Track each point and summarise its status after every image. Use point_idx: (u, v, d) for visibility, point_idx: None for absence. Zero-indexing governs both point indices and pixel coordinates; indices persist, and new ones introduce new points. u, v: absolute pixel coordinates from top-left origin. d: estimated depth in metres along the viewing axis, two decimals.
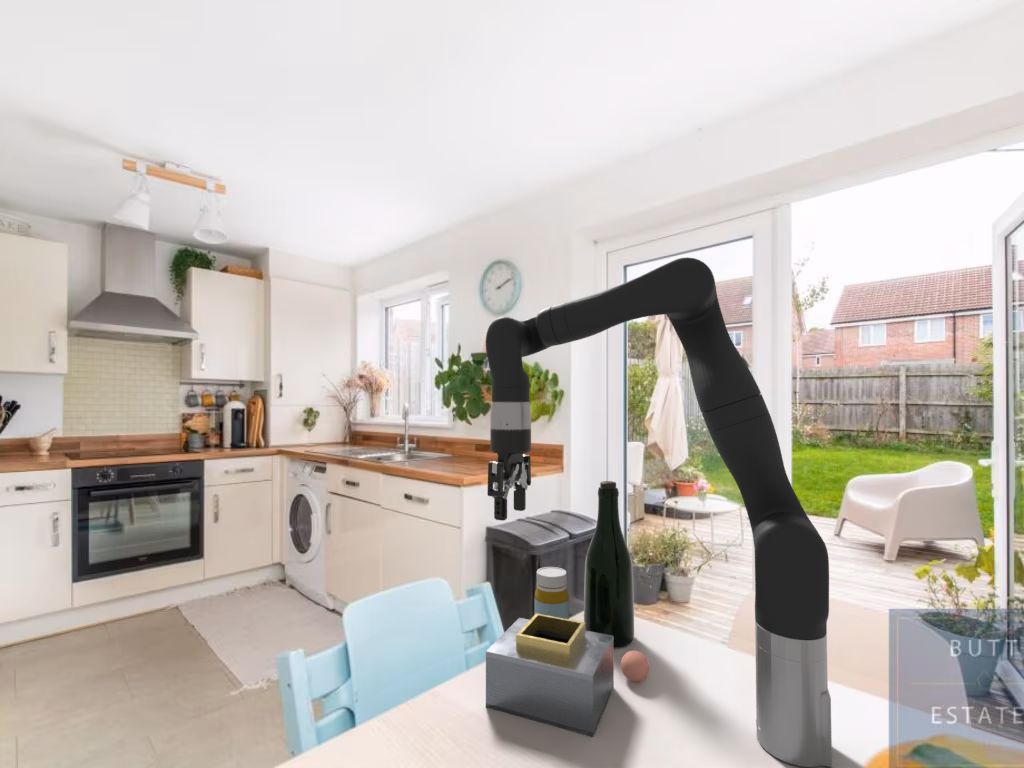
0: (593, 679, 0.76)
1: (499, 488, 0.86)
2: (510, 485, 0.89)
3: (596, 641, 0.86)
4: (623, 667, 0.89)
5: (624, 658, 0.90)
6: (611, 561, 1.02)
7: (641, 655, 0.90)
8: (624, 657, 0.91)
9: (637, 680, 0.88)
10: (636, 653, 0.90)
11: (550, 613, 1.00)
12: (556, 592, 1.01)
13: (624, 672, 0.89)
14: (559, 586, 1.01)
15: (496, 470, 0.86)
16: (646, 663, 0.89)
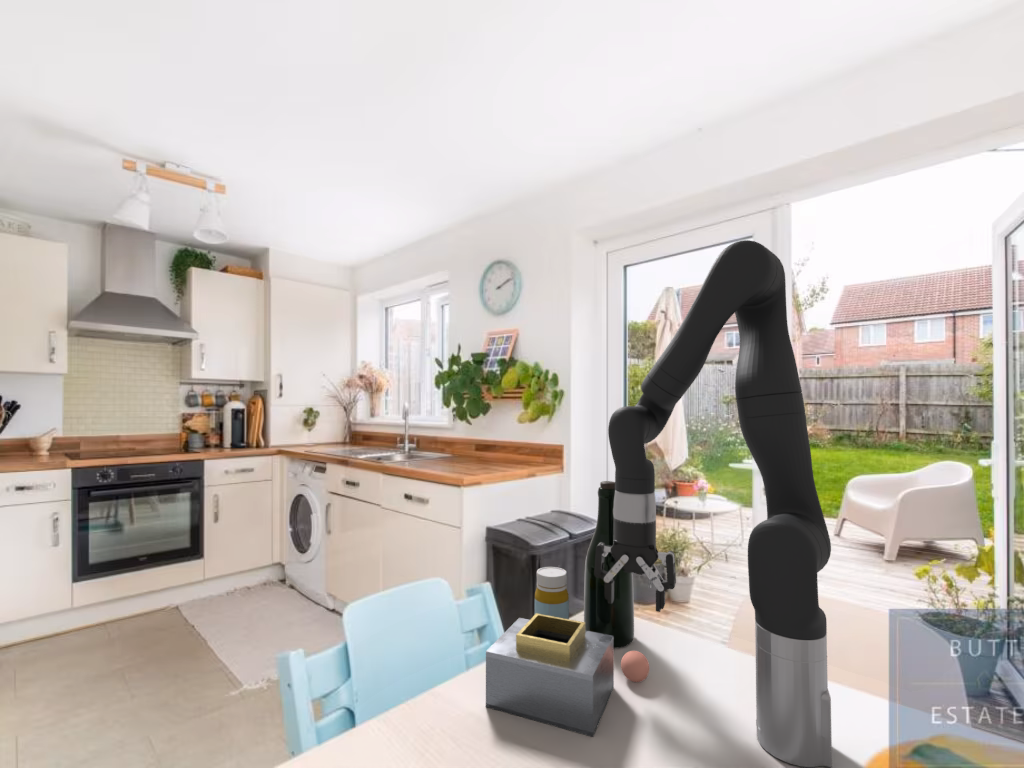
0: (593, 679, 0.76)
1: None
2: None
3: (596, 641, 0.86)
4: (623, 667, 0.89)
5: (624, 658, 0.90)
6: (611, 561, 1.02)
7: (641, 655, 0.90)
8: (624, 657, 0.91)
9: (637, 680, 0.88)
10: (636, 653, 0.90)
11: (550, 613, 1.00)
12: (556, 592, 1.01)
13: (624, 672, 0.89)
14: (559, 586, 1.01)
15: (674, 560, 0.89)
16: (646, 663, 0.89)
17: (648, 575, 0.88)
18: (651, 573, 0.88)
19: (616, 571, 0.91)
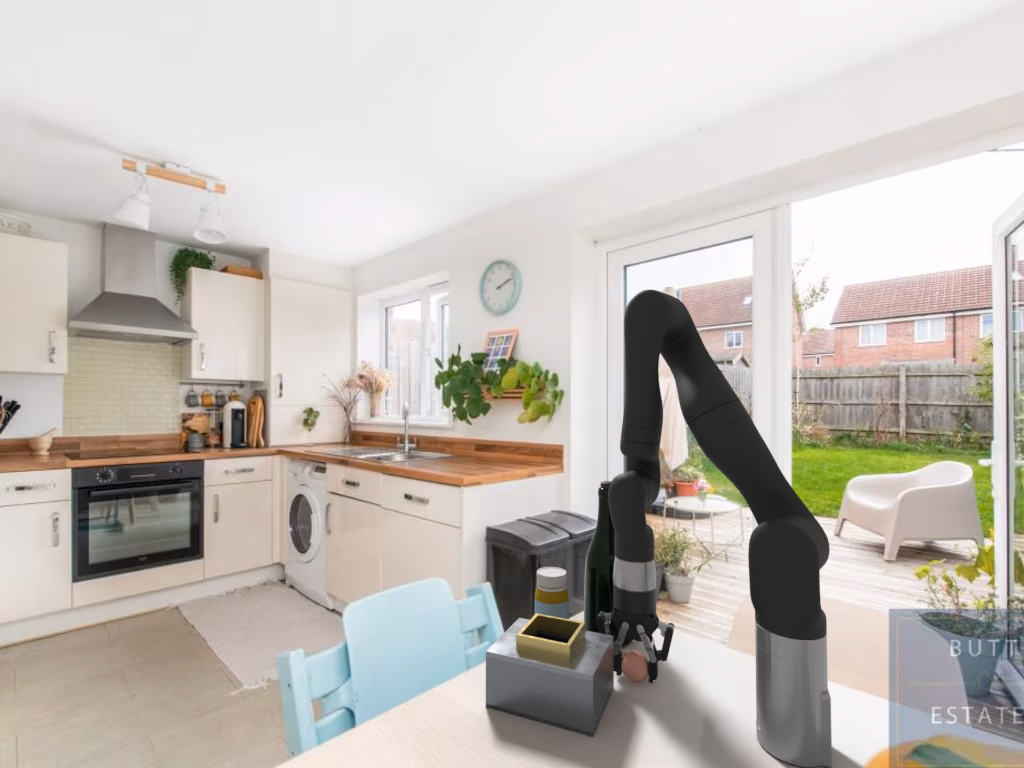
0: (593, 679, 0.76)
1: None
2: None
3: (596, 641, 0.86)
4: (623, 667, 0.89)
5: (624, 658, 0.90)
6: (611, 561, 1.02)
7: (641, 655, 0.90)
8: (624, 657, 0.91)
9: (637, 680, 0.88)
10: (636, 653, 0.90)
11: (550, 613, 1.00)
12: (556, 592, 1.01)
13: (624, 672, 0.89)
14: (559, 586, 1.01)
15: None
16: (646, 663, 0.89)
17: (644, 644, 0.88)
18: (648, 643, 0.88)
19: (621, 641, 0.90)
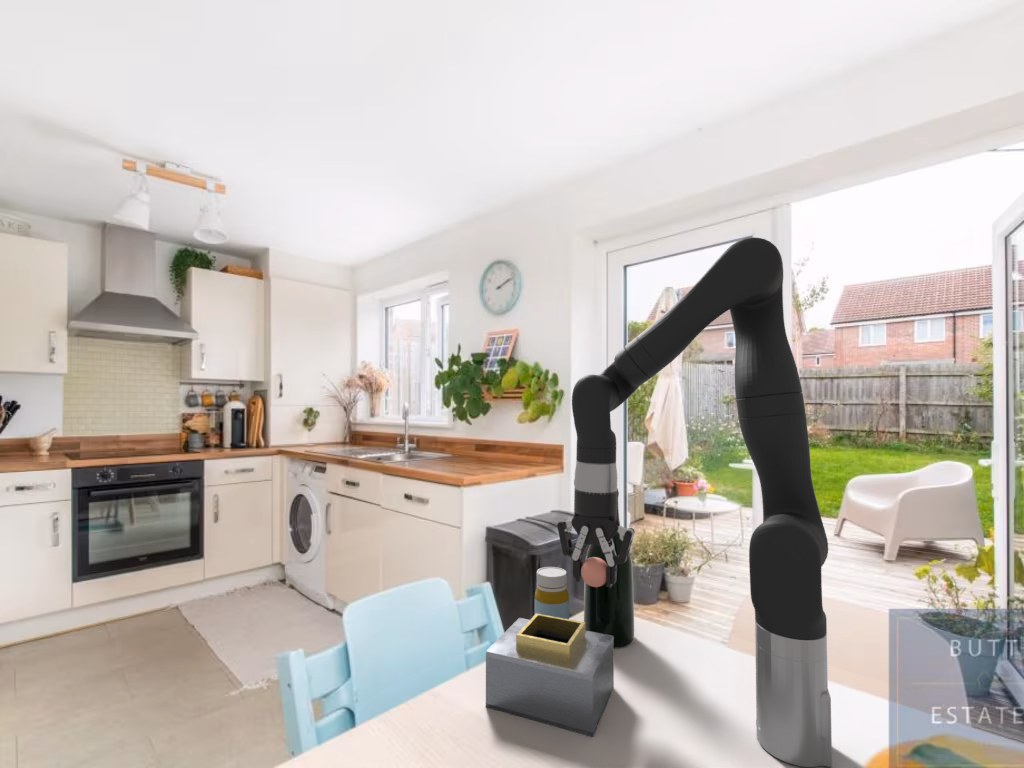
0: (593, 679, 0.76)
1: (628, 553, 0.88)
2: None
3: (596, 641, 0.86)
4: (583, 571, 0.88)
5: (584, 563, 0.89)
6: None
7: (601, 560, 0.89)
8: (584, 562, 0.89)
9: (595, 584, 0.87)
10: (596, 558, 0.89)
11: (550, 613, 1.00)
12: (556, 592, 1.01)
13: (583, 576, 0.88)
14: (559, 586, 1.01)
15: (632, 538, 0.87)
16: (605, 568, 0.88)
17: (603, 548, 0.87)
18: (606, 547, 0.87)
19: (581, 545, 0.89)
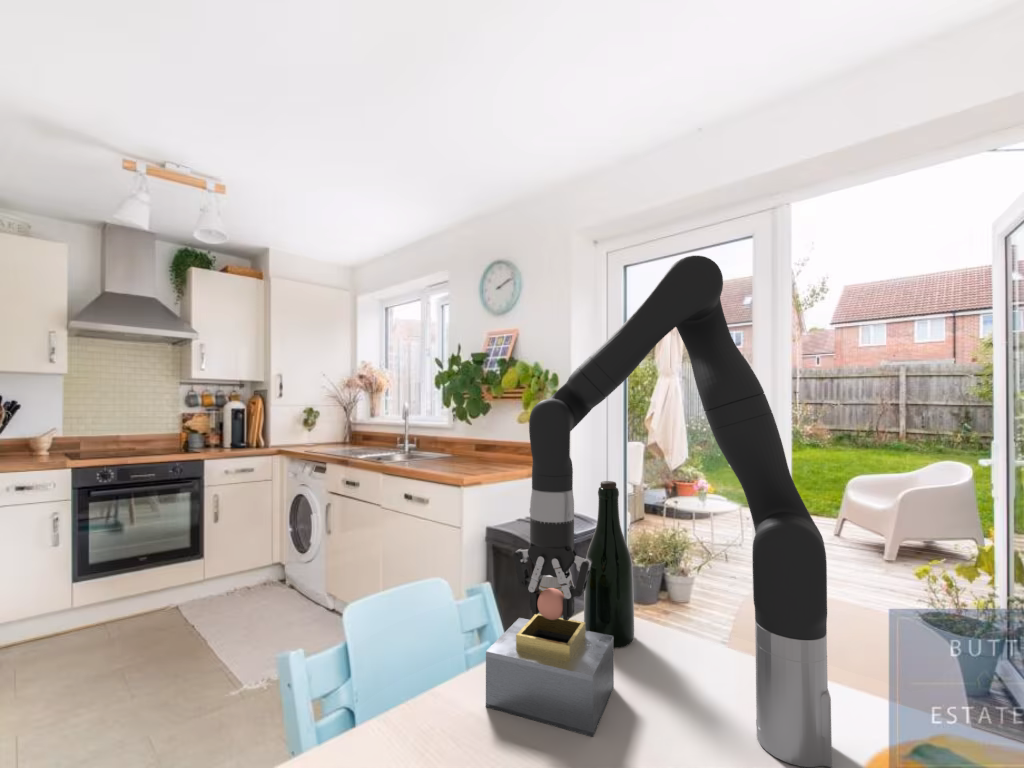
0: (593, 679, 0.76)
1: (586, 584, 0.85)
2: None
3: (596, 641, 0.86)
4: (539, 603, 0.85)
5: (540, 595, 0.86)
6: (611, 561, 1.02)
7: (558, 592, 0.85)
8: (540, 594, 0.86)
9: (552, 617, 0.84)
10: (553, 589, 0.86)
11: None
12: None
13: (539, 609, 0.85)
14: (559, 586, 1.01)
15: (589, 568, 0.84)
16: (562, 600, 0.85)
17: (559, 579, 0.84)
18: (562, 578, 0.83)
19: (537, 577, 0.85)
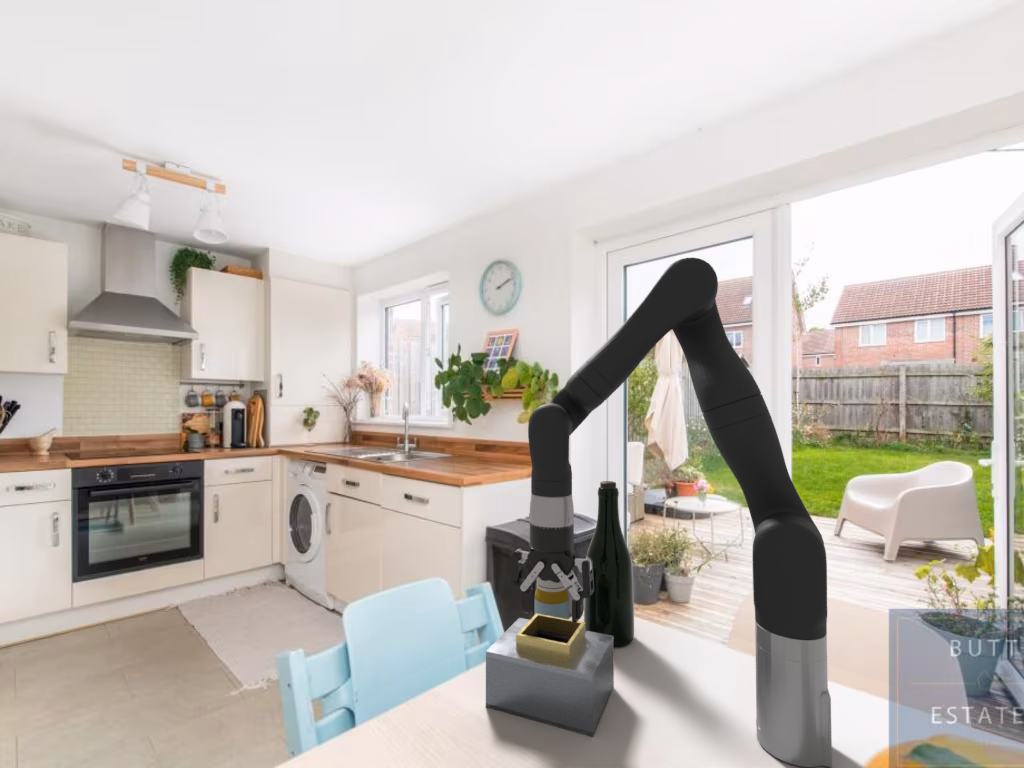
0: (593, 679, 0.76)
1: (593, 584, 0.84)
2: None
3: (596, 641, 0.86)
4: None
5: None
6: (611, 561, 1.02)
7: None
8: None
9: None
10: None
11: (550, 613, 1.00)
12: (556, 592, 1.01)
13: None
14: (559, 586, 1.01)
15: (591, 567, 0.84)
16: None
17: (564, 583, 0.83)
18: (567, 581, 0.83)
19: (532, 579, 0.85)
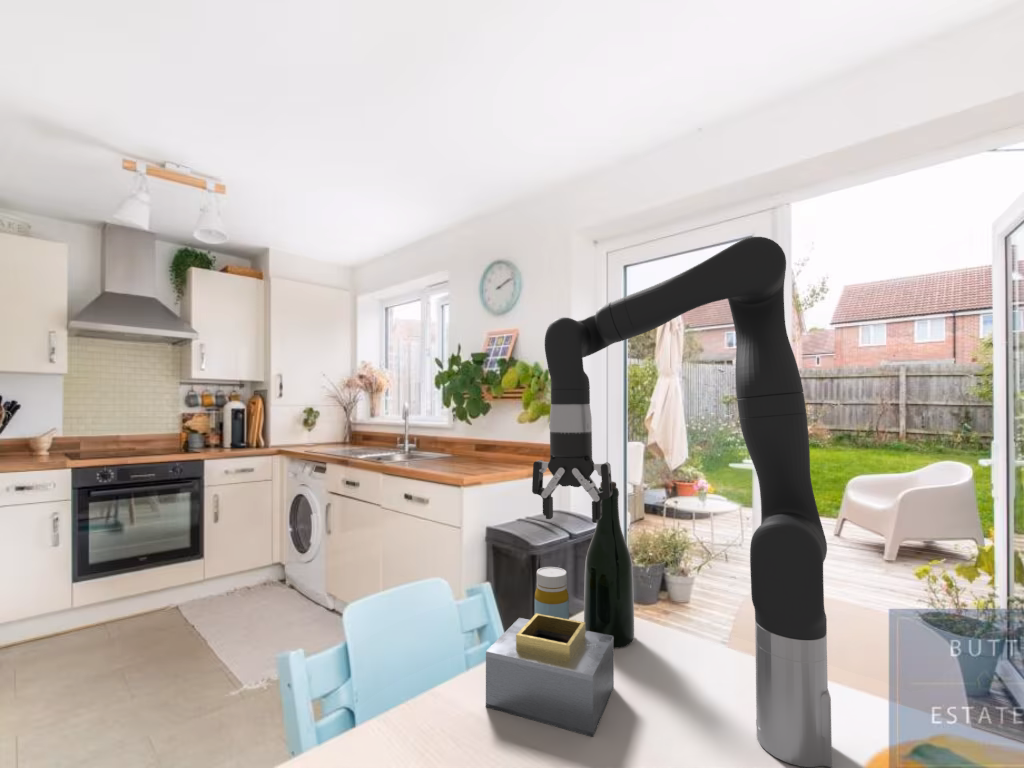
0: (593, 679, 0.76)
1: (611, 487, 0.89)
2: None
3: (596, 641, 0.86)
4: None
5: None
6: (611, 561, 1.02)
7: None
8: None
9: None
10: None
11: (550, 613, 1.00)
12: (556, 592, 1.01)
13: None
14: (559, 586, 1.01)
15: (609, 470, 0.88)
16: None
17: (584, 486, 0.88)
18: (587, 484, 0.88)
19: (553, 485, 0.90)
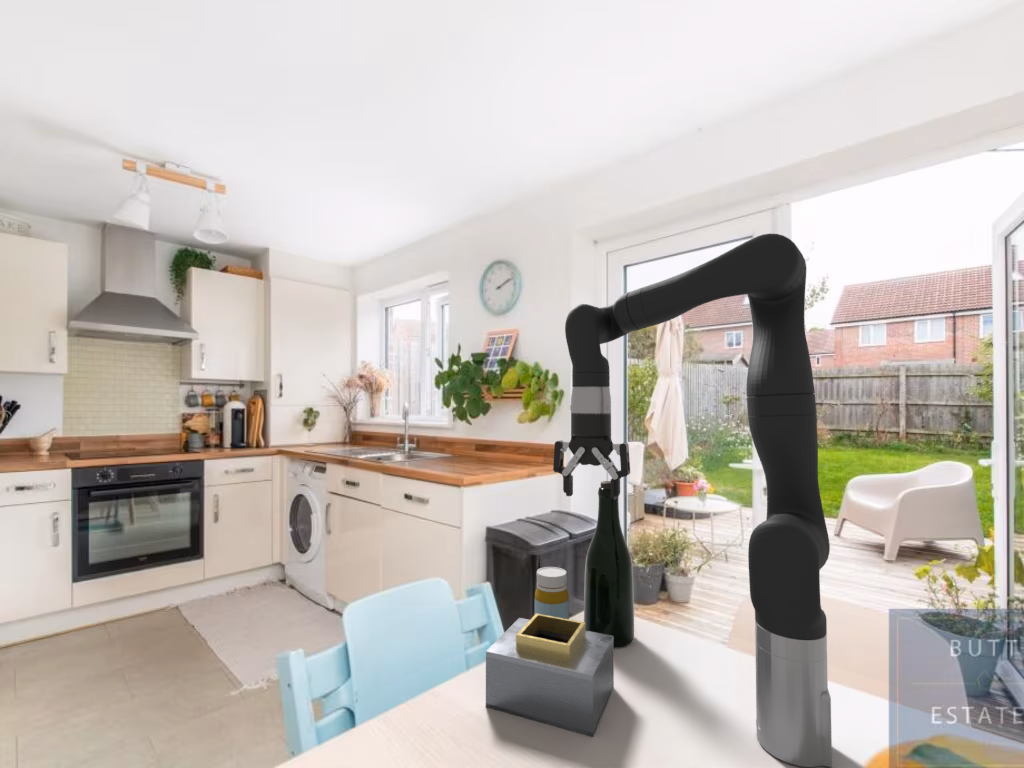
0: (593, 679, 0.76)
1: (629, 466, 0.93)
2: None
3: (596, 641, 0.86)
4: None
5: None
6: (611, 561, 1.02)
7: None
8: None
9: None
10: None
11: (550, 613, 1.00)
12: (556, 592, 1.01)
13: None
14: (559, 586, 1.01)
15: (628, 450, 0.93)
16: None
17: (603, 464, 0.92)
18: (606, 462, 0.92)
19: (573, 464, 0.94)
